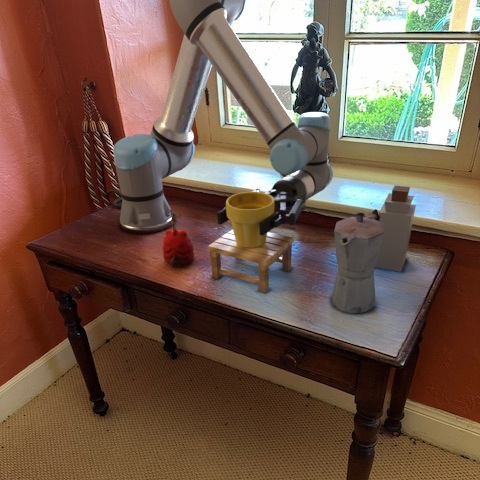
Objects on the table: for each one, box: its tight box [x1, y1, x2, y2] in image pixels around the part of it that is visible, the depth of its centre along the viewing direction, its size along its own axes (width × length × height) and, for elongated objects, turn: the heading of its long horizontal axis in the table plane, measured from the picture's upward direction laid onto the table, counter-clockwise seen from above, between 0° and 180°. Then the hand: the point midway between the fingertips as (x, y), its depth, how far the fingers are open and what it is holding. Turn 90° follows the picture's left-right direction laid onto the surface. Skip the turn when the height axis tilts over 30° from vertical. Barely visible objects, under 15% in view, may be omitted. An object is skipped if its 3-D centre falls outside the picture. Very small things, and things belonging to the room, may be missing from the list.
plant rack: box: [207, 228, 295, 293], centre depth 105 cm, size 15×13×8 cm
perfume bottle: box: [375, 185, 417, 273], centre depth 103 cm, size 7×7×18 cm
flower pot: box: [225, 191, 275, 248], centre depth 100 cm, size 10×10×10 cm
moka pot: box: [331, 208, 384, 314], centre depth 90 cm, size 10×15×20 cm, turn 146°
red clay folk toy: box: [162, 208, 195, 269], centre depth 108 cm, size 8×7×15 cm
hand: (239, 223), depth 97 cm, fingers closed on flower pot, 10 cm apart
